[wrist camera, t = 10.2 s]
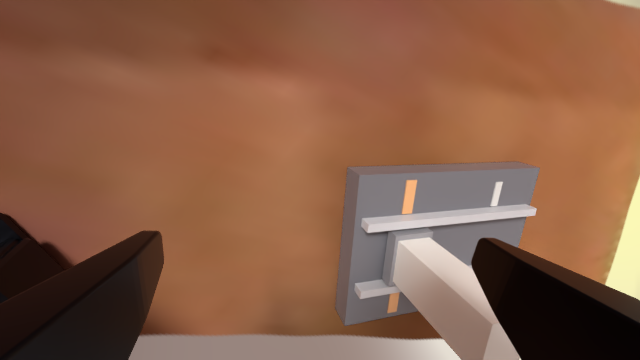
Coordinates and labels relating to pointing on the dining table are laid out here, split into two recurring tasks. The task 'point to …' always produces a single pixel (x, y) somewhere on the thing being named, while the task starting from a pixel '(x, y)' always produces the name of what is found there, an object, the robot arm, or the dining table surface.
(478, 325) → the fader
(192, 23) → the dining table surface
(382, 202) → the grey slider track base
